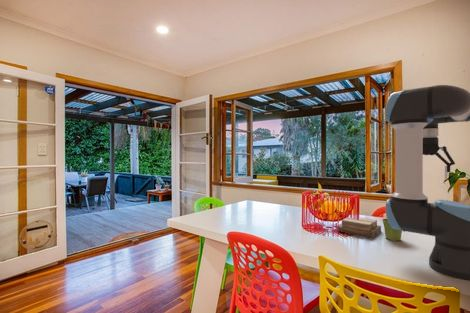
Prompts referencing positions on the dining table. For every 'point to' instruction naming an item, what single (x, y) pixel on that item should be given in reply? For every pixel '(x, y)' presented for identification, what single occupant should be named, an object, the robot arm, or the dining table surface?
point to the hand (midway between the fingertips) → (429, 178)
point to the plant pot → (391, 231)
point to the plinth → (360, 232)
